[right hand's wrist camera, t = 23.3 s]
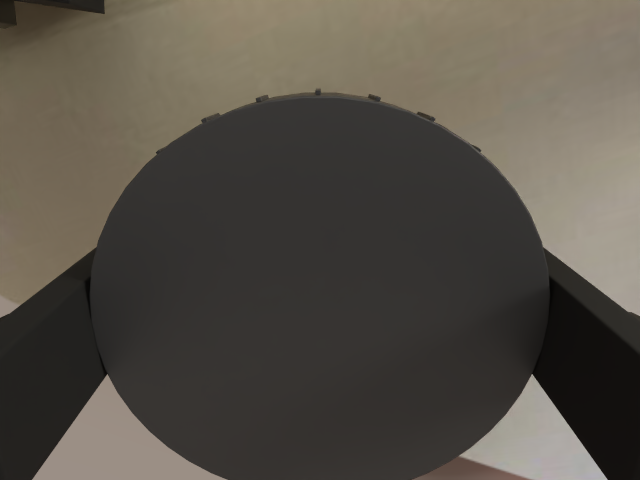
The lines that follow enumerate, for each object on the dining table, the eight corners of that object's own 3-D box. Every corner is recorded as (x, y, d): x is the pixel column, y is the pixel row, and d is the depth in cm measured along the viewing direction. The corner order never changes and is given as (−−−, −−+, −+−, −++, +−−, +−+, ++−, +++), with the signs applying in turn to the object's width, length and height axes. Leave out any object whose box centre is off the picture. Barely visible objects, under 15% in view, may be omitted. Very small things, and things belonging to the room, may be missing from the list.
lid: (93, 395, 13) (59, 443, 12) (165, 18, 9) (131, 6, 8) (420, 479, 15) (434, 533, 13) (597, 177, 11) (650, 196, 9)
